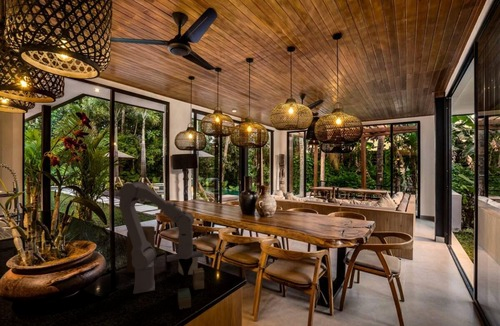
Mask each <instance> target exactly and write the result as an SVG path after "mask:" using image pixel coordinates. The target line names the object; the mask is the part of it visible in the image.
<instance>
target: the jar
mask: <svg viewBox="0 0 500 326" xmlns="http://www.w3.org/2000/svg"><path fill="white" fill-rule="evenodd" d="M197 249H198V246H197V244H194V243H193V251H198V250H197ZM198 258H199V257H196V258H192V259H193V262H192V264H191V266H190V269H189V272H188V276H191V275H192V276H193V269H197V268H198V265H199V264H198V263H199V261H198V260H199V259H198ZM178 273H179V274H180V275H181V276H184V274H183V270H182V267H181V265H180V263H179V262H178Z"/></svg>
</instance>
